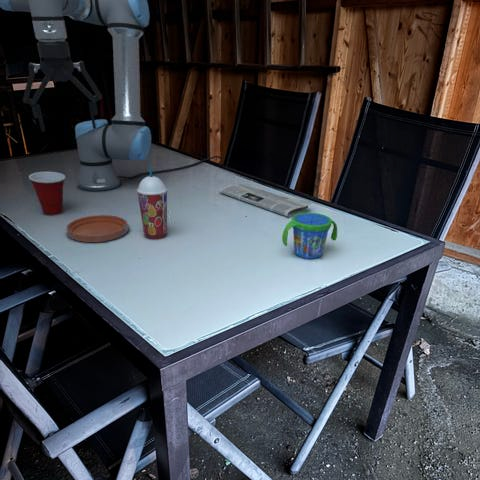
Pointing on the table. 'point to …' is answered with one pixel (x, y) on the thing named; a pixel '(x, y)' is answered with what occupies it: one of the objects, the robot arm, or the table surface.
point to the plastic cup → (49, 191)
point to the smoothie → (153, 206)
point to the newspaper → (266, 199)
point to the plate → (97, 228)
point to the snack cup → (309, 233)
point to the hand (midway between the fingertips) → (69, 129)
